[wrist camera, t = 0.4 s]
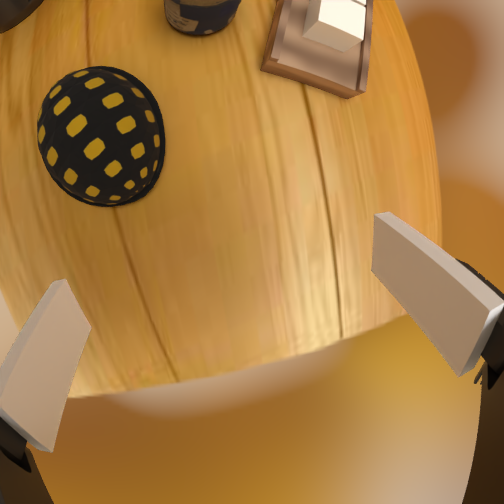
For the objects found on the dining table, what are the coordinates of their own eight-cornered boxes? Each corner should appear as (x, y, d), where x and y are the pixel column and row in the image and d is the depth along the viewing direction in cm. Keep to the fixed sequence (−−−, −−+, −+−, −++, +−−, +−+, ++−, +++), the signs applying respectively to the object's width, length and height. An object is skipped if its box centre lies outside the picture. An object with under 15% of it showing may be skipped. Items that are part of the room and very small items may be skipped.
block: (343, 52, 30) (363, 40, 25) (302, 36, 28) (318, 20, 24) (347, 21, 28) (365, 7, 24) (308, 5, 27) (323, -12, 22)
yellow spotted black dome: (96, 16, 18) (201, 147, 25) (114, 47, 27) (197, 154, 34) (-11, 118, 18) (76, 254, 25) (25, 126, 27) (101, 235, 34)
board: (346, 99, 36) (365, 92, 31) (260, 70, 32) (270, 57, 28) (357, 11, 32) (373, -1, 27) (282, -18, 28) (293, -35, 24)
